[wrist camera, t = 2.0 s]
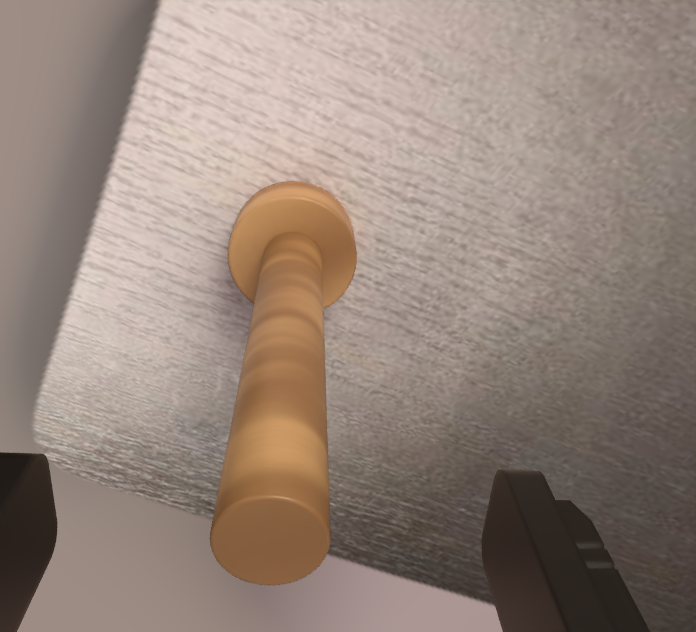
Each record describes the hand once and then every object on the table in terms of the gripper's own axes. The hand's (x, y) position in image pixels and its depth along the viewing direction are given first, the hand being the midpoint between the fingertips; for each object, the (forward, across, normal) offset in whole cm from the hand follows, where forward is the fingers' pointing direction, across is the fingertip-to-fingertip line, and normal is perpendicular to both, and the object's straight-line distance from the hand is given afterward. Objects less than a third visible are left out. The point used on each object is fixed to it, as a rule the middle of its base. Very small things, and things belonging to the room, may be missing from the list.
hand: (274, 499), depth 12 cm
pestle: (+14, 0, 0) cm, 14 cm away
